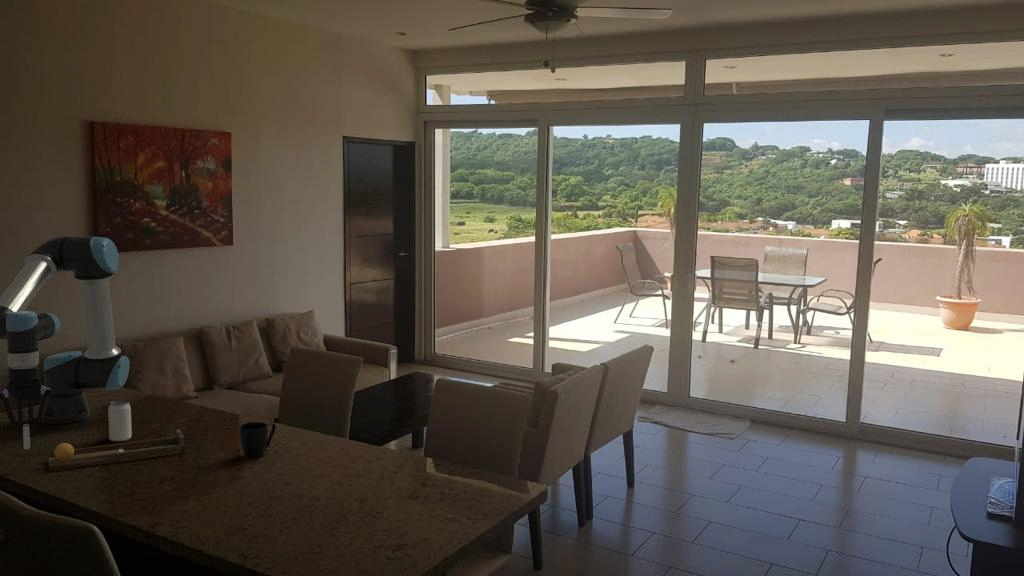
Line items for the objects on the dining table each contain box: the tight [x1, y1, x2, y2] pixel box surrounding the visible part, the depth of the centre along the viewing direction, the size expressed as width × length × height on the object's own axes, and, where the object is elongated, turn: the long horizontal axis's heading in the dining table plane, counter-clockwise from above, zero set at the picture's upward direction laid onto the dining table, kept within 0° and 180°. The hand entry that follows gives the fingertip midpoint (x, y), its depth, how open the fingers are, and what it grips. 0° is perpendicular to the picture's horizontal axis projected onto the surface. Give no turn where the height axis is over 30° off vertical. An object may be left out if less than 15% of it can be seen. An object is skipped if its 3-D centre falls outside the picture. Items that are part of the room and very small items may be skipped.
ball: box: [53, 442, 74, 460], centre depth 229 cm, size 5×5×5 cm
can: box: [107, 400, 133, 443], centre depth 253 cm, size 6×6×12 cm
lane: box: [48, 428, 185, 472], centre depth 237 cm, size 10×36×5 cm, turn 120°
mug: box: [239, 421, 277, 460], centre depth 242 cm, size 8×12×10 cm
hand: (27, 447), depth 224 cm, fingers closed
